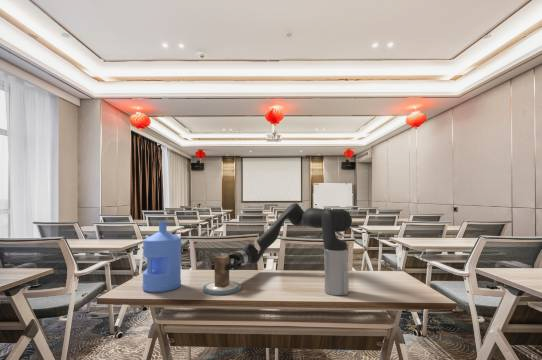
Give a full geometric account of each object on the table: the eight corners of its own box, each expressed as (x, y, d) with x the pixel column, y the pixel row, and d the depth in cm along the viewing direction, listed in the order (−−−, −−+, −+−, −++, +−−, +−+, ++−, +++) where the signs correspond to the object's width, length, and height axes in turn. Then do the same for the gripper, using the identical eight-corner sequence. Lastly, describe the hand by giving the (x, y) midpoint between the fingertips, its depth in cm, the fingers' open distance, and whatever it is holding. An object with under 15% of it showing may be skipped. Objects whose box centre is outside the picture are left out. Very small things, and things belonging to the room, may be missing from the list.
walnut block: (229, 284, 127) (228, 255, 128) (224, 287, 123) (223, 258, 123) (220, 283, 129) (219, 255, 129) (214, 286, 124) (214, 257, 125)
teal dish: (247, 285, 130) (247, 282, 130) (230, 297, 115) (230, 293, 115) (215, 282, 136) (215, 279, 136) (194, 292, 121) (194, 289, 121)
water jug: (164, 280, 139) (165, 220, 141) (188, 285, 131) (189, 221, 133) (134, 289, 126) (135, 222, 128) (158, 295, 118) (160, 224, 120)
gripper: (223, 250, 142) (204, 257, 126) (251, 252, 137) (234, 259, 121) (223, 266, 142) (204, 275, 126) (251, 269, 137) (234, 278, 121)
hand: (219, 267), depth 124 cm, fingers open, 6 cm apart
